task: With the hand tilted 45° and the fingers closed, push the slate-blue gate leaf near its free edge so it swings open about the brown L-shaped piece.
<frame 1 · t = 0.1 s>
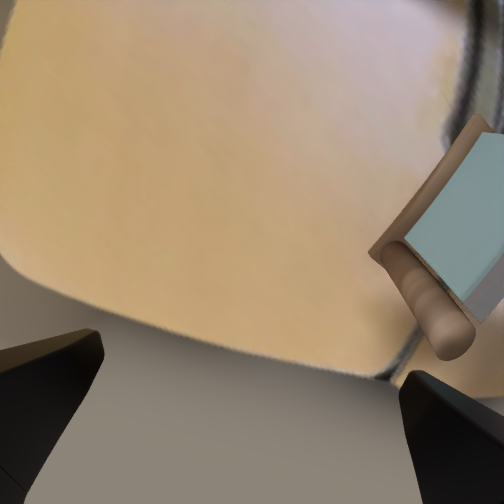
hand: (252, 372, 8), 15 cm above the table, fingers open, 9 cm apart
gate leaf: (489, 206, 13), point 6 cm above the table, hinge at 0.0°
brown l-shaped piece: (390, 249, 21), on the table
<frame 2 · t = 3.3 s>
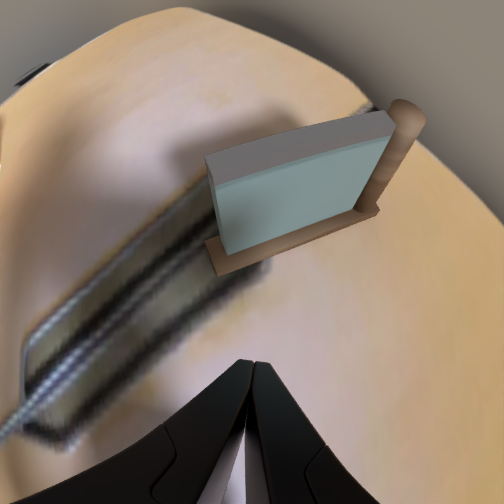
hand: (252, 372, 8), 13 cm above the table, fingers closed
gate leaf: (298, 188, 18), point 6 cm above the table, hinge at 0.0°
brown l-shaped piece: (356, 206, 25), on the table
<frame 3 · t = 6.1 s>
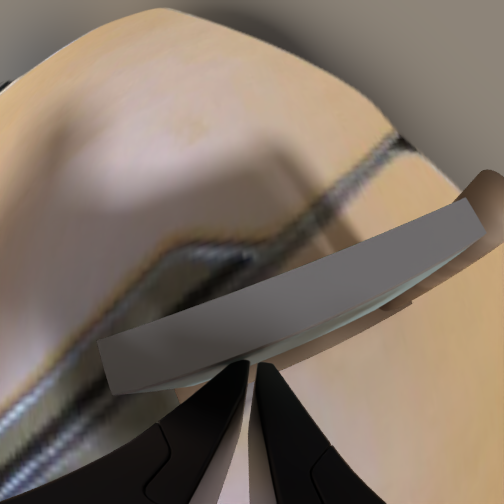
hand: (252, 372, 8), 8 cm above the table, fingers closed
gate leaf: (298, 323, 11), point 6 cm above the table, hinge at -0.8°, touching gripper
brown l-shaped piece: (380, 296, 17), on the table
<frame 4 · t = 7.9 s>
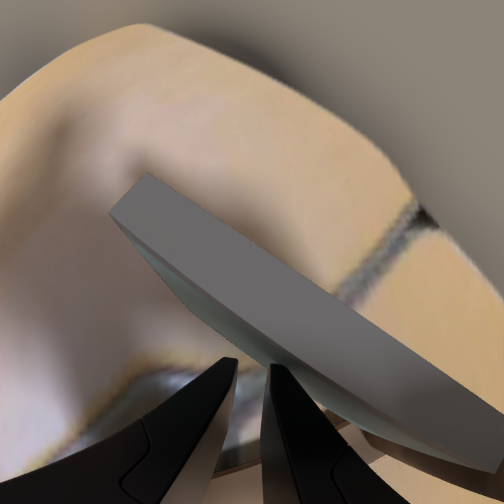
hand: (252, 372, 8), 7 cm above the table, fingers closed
gate leaf: (299, 359, 9), point 6 cm above the table, hinge at -58.8°, touching gripper
brown l-shaped piece: (378, 427, 13), on the table
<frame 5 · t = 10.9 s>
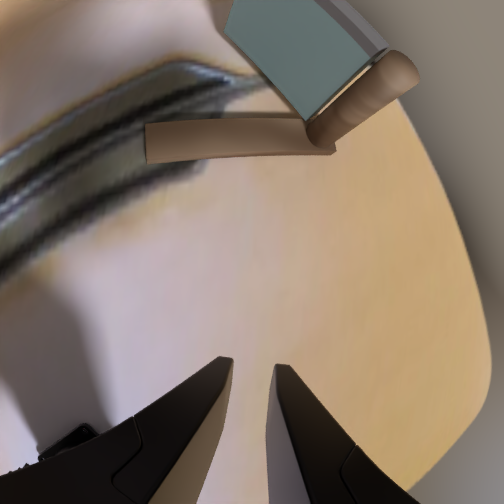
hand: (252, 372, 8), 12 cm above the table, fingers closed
gate leaf: (290, 32, 16), point 6 cm above the table, hinge at -58.8°
brown l-shaped piece: (313, 139, 23), on the table
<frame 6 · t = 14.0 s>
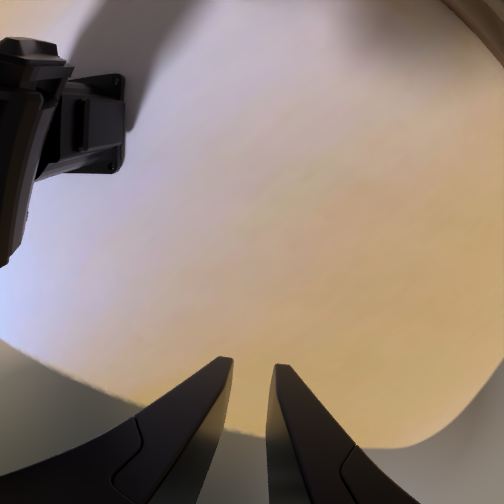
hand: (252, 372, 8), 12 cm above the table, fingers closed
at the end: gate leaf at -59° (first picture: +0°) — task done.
